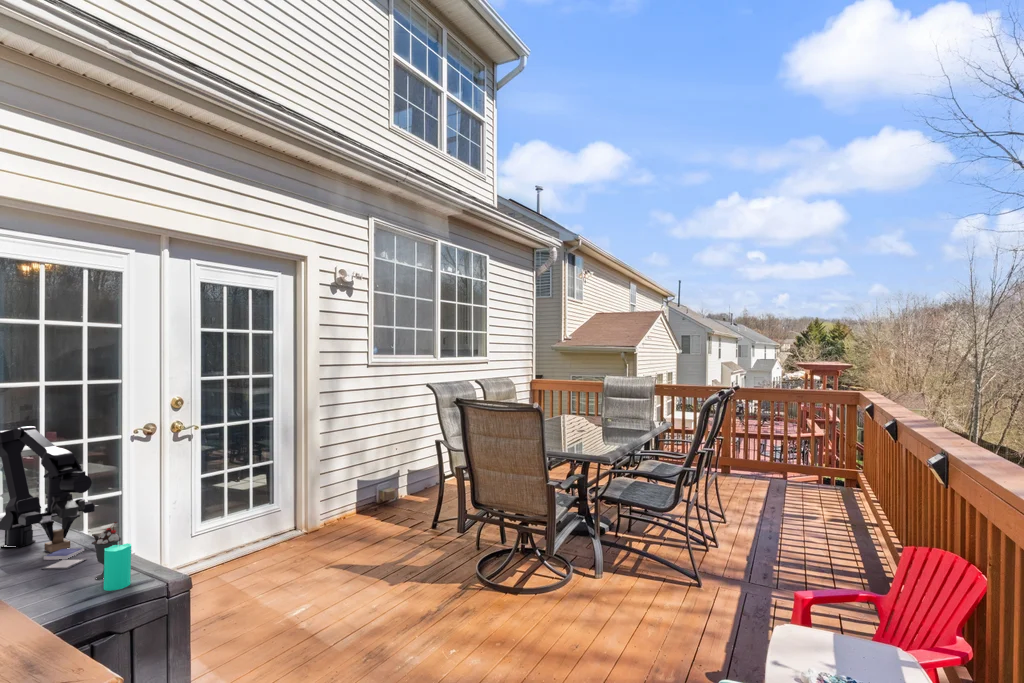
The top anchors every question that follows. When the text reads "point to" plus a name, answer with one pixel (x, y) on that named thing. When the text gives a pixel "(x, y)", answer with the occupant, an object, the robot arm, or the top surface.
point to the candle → (117, 567)
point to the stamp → (57, 542)
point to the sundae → (105, 544)
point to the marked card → (64, 564)
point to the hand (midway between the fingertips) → (57, 539)
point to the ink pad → (63, 554)
